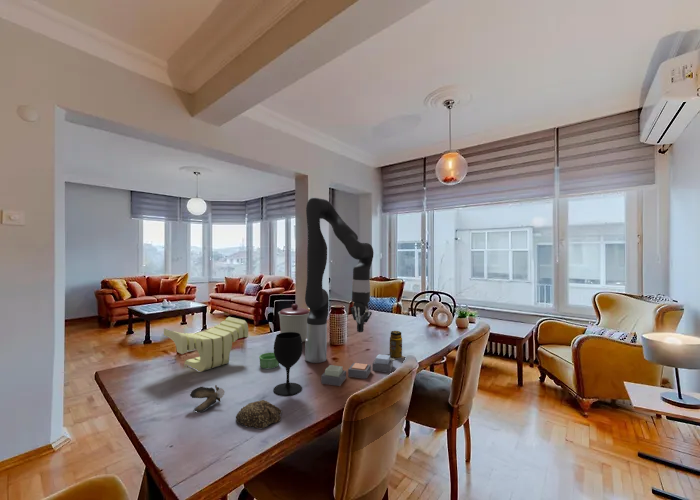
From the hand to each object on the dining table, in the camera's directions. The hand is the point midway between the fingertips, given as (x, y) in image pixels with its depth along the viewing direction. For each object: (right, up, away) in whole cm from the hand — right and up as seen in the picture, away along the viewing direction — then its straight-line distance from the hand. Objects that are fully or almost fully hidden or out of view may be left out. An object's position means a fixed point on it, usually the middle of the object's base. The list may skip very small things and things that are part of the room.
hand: (360, 331), depth 130 cm
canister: (-35, -17, +44) cm, 59 cm away
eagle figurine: (-51, -17, -28) cm, 61 cm away
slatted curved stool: (-67, -17, +8) cm, 70 cm away
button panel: (0, -17, -1) cm, 17 cm away
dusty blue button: (+10, -16, +6) cm, 19 cm away
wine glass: (-27, -17, -16) cm, 36 cm away
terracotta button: (0, -17, -1) cm, 17 cm away
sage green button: (-11, -15, -8) cm, 20 cm away
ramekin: (-40, -17, +8) cm, 44 cm away
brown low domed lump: (-32, -18, -35) cm, 50 cm away
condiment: (+17, -18, +21) cm, 33 cm away
